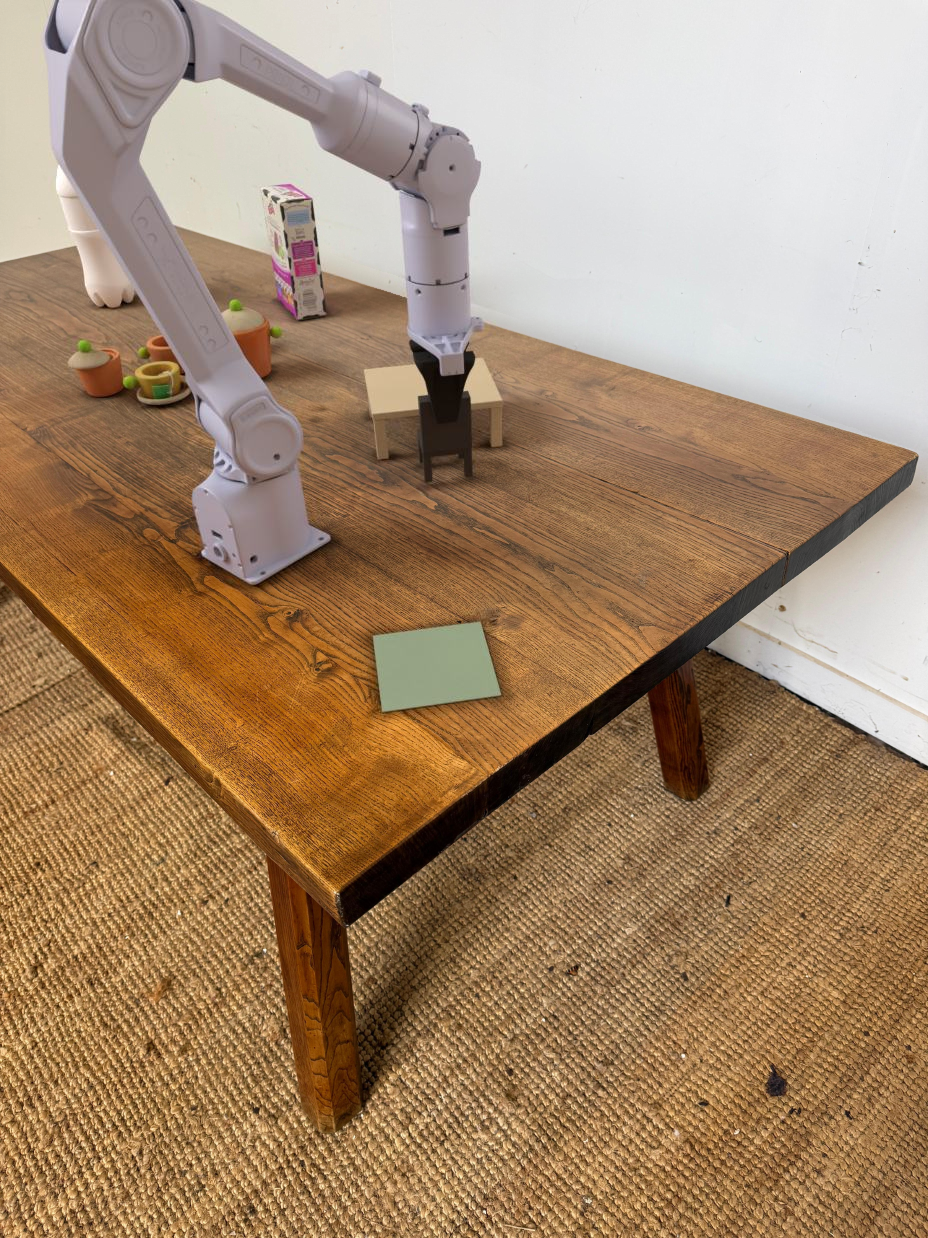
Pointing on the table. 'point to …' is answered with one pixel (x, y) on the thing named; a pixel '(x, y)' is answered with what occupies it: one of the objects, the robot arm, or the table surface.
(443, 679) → the mat
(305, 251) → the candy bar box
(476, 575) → the table surface
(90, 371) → the toy tea set
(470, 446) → the toy chair
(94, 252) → the water bottle
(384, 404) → the side table
